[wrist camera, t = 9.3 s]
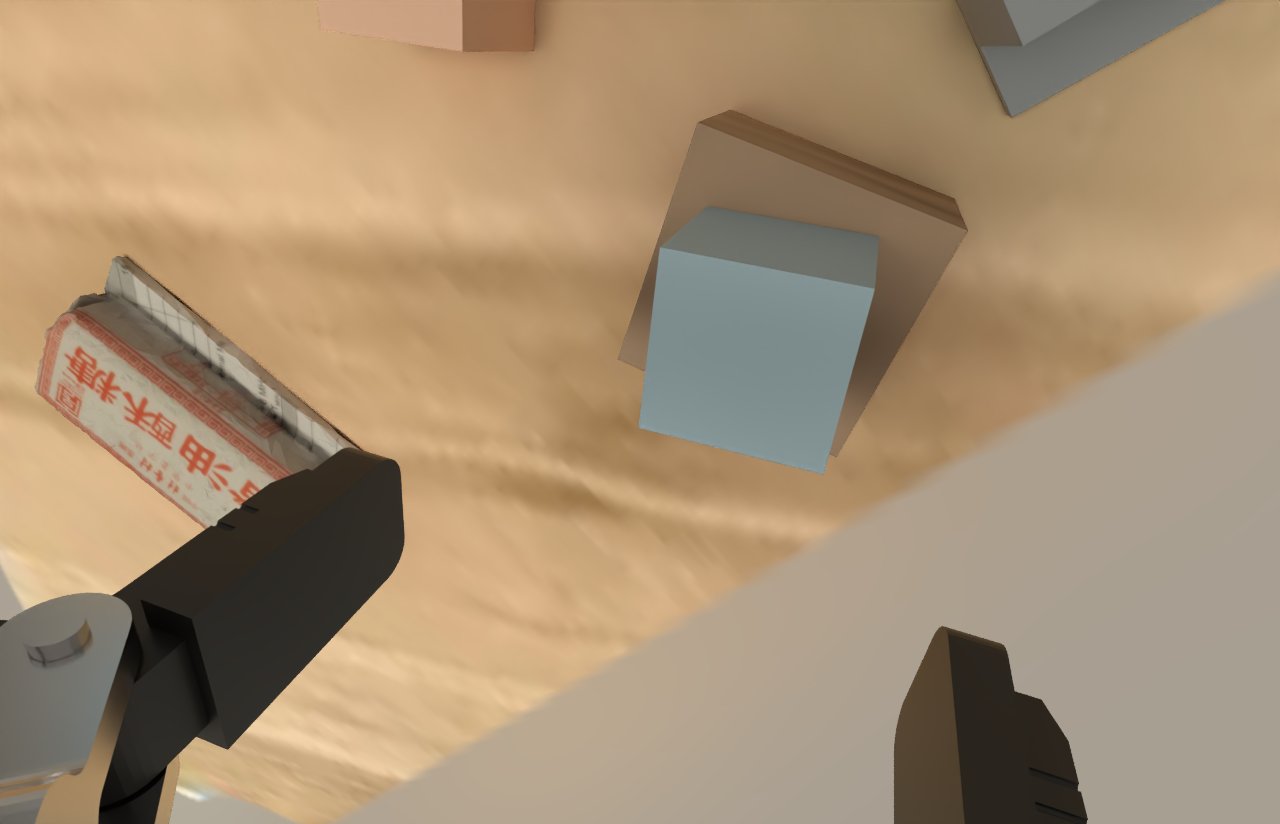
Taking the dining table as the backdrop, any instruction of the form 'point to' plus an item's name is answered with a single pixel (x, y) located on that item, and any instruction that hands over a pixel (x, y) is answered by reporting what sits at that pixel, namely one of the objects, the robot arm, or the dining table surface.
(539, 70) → the dining table surface
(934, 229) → the walnut block
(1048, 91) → the display stand
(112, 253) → the dining table surface
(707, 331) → the blue block
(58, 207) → the dining table surface
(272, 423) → the packaged product
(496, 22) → the terracotta block
